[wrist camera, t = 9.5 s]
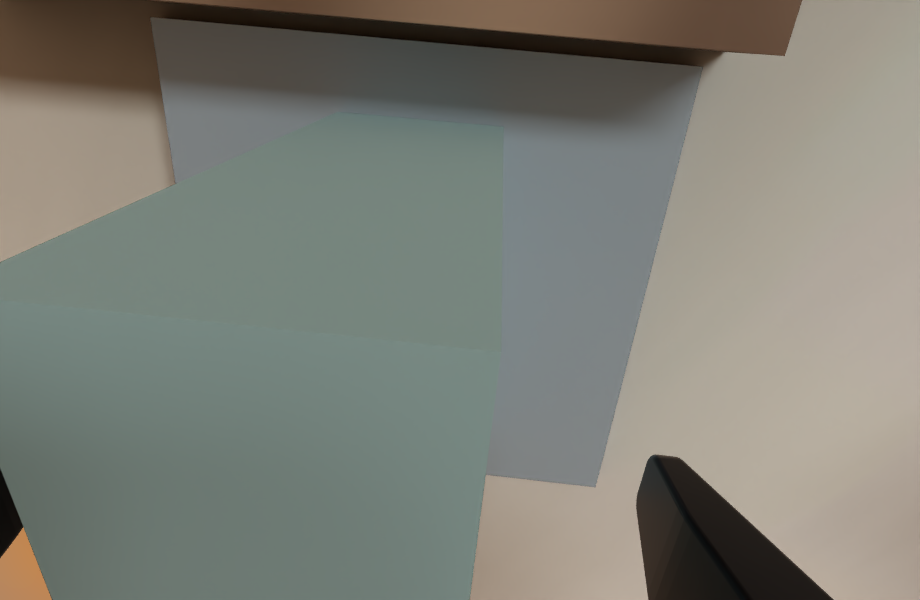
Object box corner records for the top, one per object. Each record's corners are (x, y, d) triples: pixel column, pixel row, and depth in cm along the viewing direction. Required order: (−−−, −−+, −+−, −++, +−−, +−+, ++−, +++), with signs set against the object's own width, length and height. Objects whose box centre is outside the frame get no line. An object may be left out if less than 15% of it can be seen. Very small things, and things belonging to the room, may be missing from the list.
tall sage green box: (503, 126, 11) (500, 352, 3) (470, 429, 15) (430, 901, 7) (337, 111, 11) (-71, 293, 3) (344, 415, 15) (155, 862, 7)
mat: (696, 65, 11) (702, 66, 11) (593, 476, 16) (595, 487, 15) (161, 17, 11) (150, 17, 11) (221, 434, 16) (215, 443, 16)
